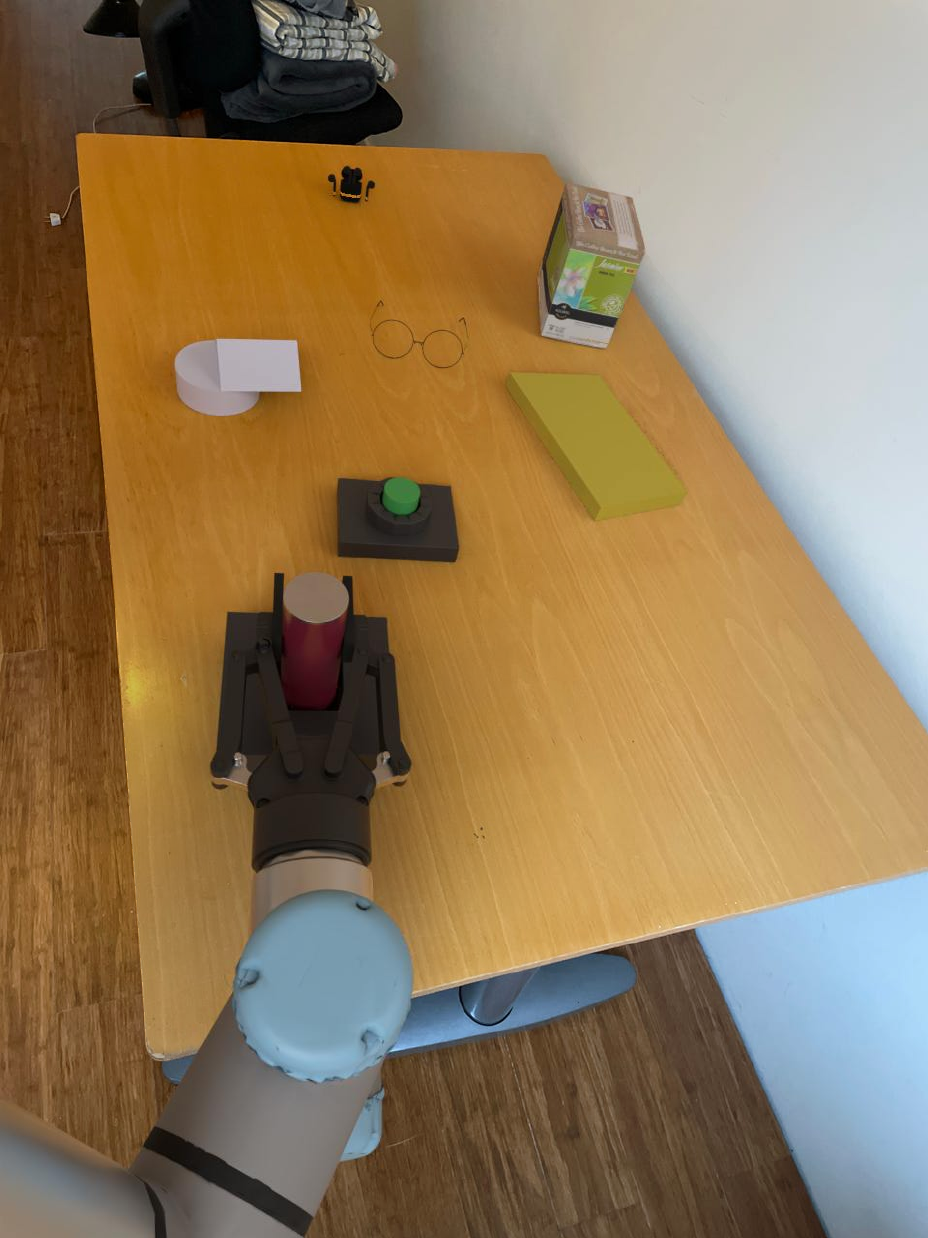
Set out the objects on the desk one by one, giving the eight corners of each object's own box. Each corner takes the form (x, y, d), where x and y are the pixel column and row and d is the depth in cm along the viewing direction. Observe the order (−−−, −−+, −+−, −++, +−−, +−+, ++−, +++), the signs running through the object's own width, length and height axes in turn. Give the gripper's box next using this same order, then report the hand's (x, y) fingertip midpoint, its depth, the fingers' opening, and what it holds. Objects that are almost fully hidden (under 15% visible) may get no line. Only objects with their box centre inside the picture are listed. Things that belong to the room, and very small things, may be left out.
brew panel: (337, 556, 81) (341, 529, 78) (336, 492, 86) (339, 464, 83) (455, 562, 84) (463, 536, 81) (447, 500, 89) (454, 473, 86)
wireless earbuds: (326, 200, 123) (328, 165, 119) (326, 191, 124) (329, 157, 121) (372, 207, 124) (376, 173, 121) (372, 199, 126) (376, 165, 122)
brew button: (383, 514, 81) (385, 501, 79) (381, 488, 83) (383, 475, 81) (418, 516, 81) (421, 503, 80) (416, 490, 84) (418, 478, 82)
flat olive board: (680, 504, 96) (585, 377, 108) (687, 491, 95) (590, 363, 107) (594, 521, 92) (505, 386, 104) (600, 507, 90) (509, 372, 102)
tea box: (608, 351, 113) (648, 249, 102) (538, 337, 112) (571, 233, 100) (599, 292, 123) (634, 193, 111) (534, 279, 121) (563, 177, 110)
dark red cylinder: (279, 712, 66) (282, 621, 56) (280, 665, 68) (284, 570, 59) (337, 713, 67) (349, 623, 57) (336, 666, 69) (348, 573, 60)
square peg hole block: (217, 782, 64) (215, 755, 61) (228, 642, 72) (227, 611, 69) (388, 780, 67) (396, 755, 64) (381, 646, 76) (387, 616, 72)
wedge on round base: (289, 365, 97) (174, 364, 93) (291, 316, 92) (170, 312, 88) (299, 415, 92) (179, 416, 88) (302, 365, 87) (174, 364, 83)
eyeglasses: (375, 303, 109) (379, 268, 105) (467, 323, 111) (475, 289, 107) (364, 353, 102) (369, 317, 98) (463, 372, 104) (471, 338, 100)
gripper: (169, 897, 52) (200, 610, 66) (439, 886, 56) (415, 616, 70) (158, 853, 46) (194, 548, 60) (460, 844, 50) (428, 559, 64)
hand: (312, 585), depth 65 cm, fingers closed on dark red cylinder, 5 cm apart
